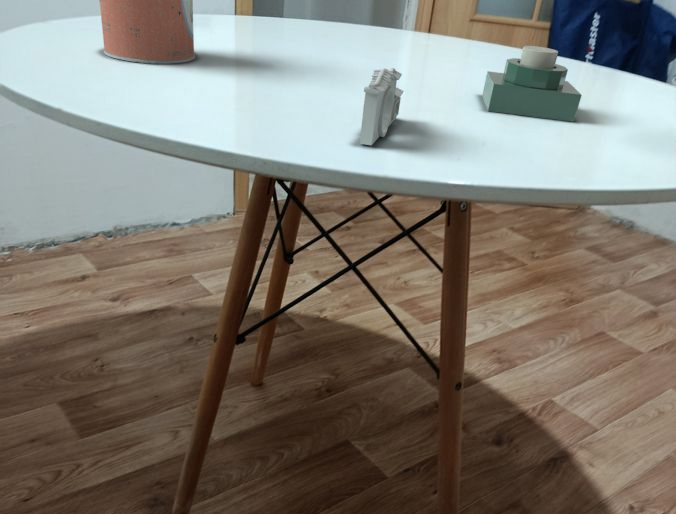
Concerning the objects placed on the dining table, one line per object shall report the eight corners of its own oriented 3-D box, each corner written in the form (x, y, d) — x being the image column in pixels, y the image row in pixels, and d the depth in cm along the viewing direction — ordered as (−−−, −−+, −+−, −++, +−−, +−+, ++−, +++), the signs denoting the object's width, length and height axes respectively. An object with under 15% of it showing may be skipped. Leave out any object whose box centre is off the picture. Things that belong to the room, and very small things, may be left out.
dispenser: (560, 106, 80) (572, 63, 77) (573, 121, 74) (587, 76, 71) (482, 96, 81) (491, 53, 78) (487, 111, 74) (498, 64, 71)
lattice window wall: (383, 116, 67) (391, 55, 64) (400, 119, 67) (409, 58, 63) (355, 145, 57) (363, 75, 54) (374, 148, 57) (384, 78, 53)
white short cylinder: (550, 67, 76) (555, 48, 75) (556, 73, 73) (561, 53, 72) (516, 63, 76) (521, 44, 75) (521, 68, 73) (526, 49, 72)
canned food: (193, 66, 78) (190, -48, 72) (97, 59, 76) (85, -59, 70) (196, 50, 87) (193, -53, 81) (110, 43, 85) (100, -63, 79)
